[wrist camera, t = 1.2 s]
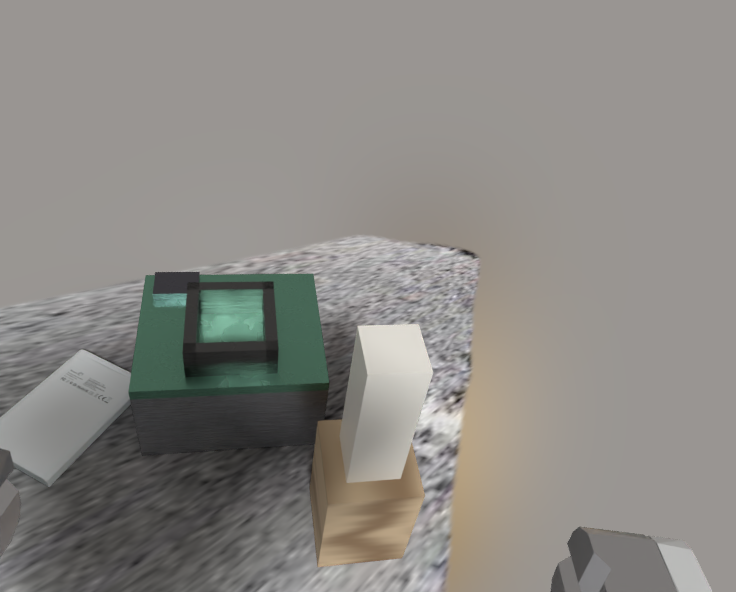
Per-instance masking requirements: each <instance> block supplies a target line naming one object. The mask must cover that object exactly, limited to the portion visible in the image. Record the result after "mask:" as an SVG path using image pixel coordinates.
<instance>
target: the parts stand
mask: <svg viewBox="0 0 736 592" xmlns="http://www.w3.org/2000/svg"><path fill="white" fill-rule="evenodd" d="M341 423H342V419H340V420H323V421H318V423H317V432H316V440H315V448H314V456H313V465H312V473H311V481H310V497H311V506H312V516H313V526H314V536H315V546H316V555H317V565H318V567H323V566H333V565H342V564H351V563H361V562H370V561H380V560H389V559H398V558H402V557H403V554H404V552H405V549H406V546H407V543H408V541H409V538H410V535H411V533H412V530H413V527H414V524H415V522H416V519H417V516H418V513H419V511H420V508H421V505H422V503H423V500H424V497H425V494H424V490H423V486H422V482H421V478H420V474H419V470H418V466H417V462H416V458H415V454H414V450H413V445H412V443H411V446H410V450H409V453H408V456H407V459H406V463H405V466H404V469H403V472H402V476H401V479H392V480H379V481H366V482H354V483H346V477H345V470H344V463H343V457H342V450H341V443H340V437H339V435H340V429H341Z"/></svg>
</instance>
